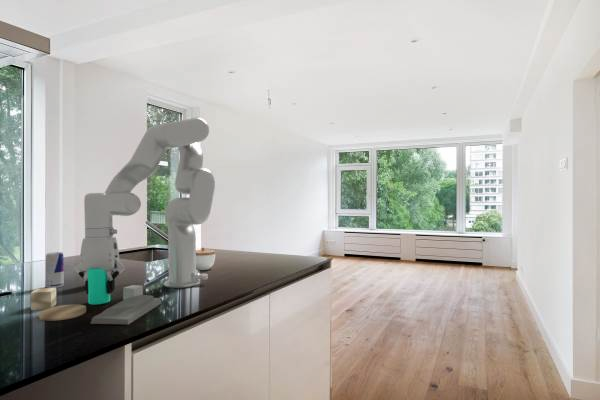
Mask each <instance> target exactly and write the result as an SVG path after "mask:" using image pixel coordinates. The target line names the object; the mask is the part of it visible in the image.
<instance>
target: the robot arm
mask: <svg viewBox="0 0 600 400" xmlns="http://www.w3.org/2000/svg"><path fill="white" fill-rule="evenodd" d="M209 133H210V126H209V124H208V123H207V121H206V120H205V119H203V118H201V117H191V118H186V119H181V120H178V121H171V122H165V123H159V124H155V125H152V126H150V127H148V129H147V130H146V131H145V133H144V134H143V136H142V138H141V140H140V142H139V143H138V145H137V147H136V149H135V151H134V153H133V154H132V156H131V157H130V159H129V161H128V162H127V163H126V164H125V165H124V166H123V167H122V169H120V171H118V172H117V174H115V176H114V177H113V179H111V181H110V182H109V184H108V186H107V188H106V189H105V191H104V192H89V193H86V194H85V196H84V200H83V201H84V202H83V203H84V205H83V206H84V238H82V241H81V242H82V243H81V245H80V254H79V255H80V257H79V258H80V259H79V262H78V263H77V264H76V265H75V266H74V267H73V271H74V272H75V273H76V274H78V275H79V277H80V278H81V279H82V280H83V282H84V281H85V285H84V291H85V294H86V295H88V269H103V271H106V274H107V276H108V281H107V294H110V295H111V294H112V293H113V292H115V291H114V290H115V288H116V286H115V285H116V282H115V279H117V277H118V276H119V275H120V274H121V273H122V272H123V271H124V270H125V269H126V266H125V265H124V263H122V261H121V260H120V252H119V251H120V250H119V246H118V240H117V237H116V236H114V235H116V234H118V229H115V228H114V225H113V223H114V222H113V216H121V217H124V216H125V217H128V216H132V215H135V214H136V213H138V212H139V211H140V209H141V206H142V205H141V204H142V202H141V199H140V198H139V196H138V195H137V194H135V193H133V192H132V190H134V188H135V187H136V186H137V185H139V184H140V183H141V182H142V181H145V180H147V179H148V178H149V177H151V176H152V175H153V174H154V173H155V172H156V170H158V167H159V165H160V163H161V161H162V159H163V158H164V156H165V153H166V152H167V150H169V149H175V148H177V149H178V151H179V160H178V165H177V171H176V175H175V182H174V186H175V190H176V191H177V192H178V193H179V194H183V195H186V196H187V195H188V196H189V197H176V198H173V199H171V200H170V201H169V202H168V203H167V205H166V207H165V213H164V214H165V217H166V218H165V220H166V223H167V232H168V233H167V235H168V237H167V238H168V240H167V241H168V279H167V280H165V281H164V282H163V283H164V285H163V286H164V287H166V288H173V289H174V288H175V289H177V288H180V289H181V288H189V287H195V286H198V285H200V284H201V280H208V278H209V277H208V276H209V275H208V273H199V270H197V269H196V249H197V247H196V246H197V244H196V243H197V242H196V239H197V236H196V230H195V227H194V226H195V225H203V224H205V222H206V221H207V220H208V219H209V216H210V214H211V211H212V204H213V200H214V195H215V194H214V193H215V188H216V187H215V186H216V181H215V177H214V175H213V173H212V172H211V171H210V170H209V169H208V168H203V164H204V163H203V162H204V153H203V151H202V148H201V146H200V145H199V143H200V142H203V141H204V140H206V139H207V137H208V136H209ZM115 269H116V270H115Z"/></svg>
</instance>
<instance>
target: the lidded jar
mask: <svg viewBox="0 0 600 400" xmlns="http://www.w3.org/2000/svg"><path fill="white" fill-rule="evenodd" d="M215 261H216V250H213V249H205V247H202V248H201V249H197V250H196V270H198V271H206V270H210V269H211V267H213V265H214V264H215Z"/></svg>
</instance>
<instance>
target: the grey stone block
mask: <svg viewBox="0 0 600 400" xmlns="http://www.w3.org/2000/svg"><path fill="white" fill-rule="evenodd" d="M143 287H144V286H143V285H136V284H131V285H129V286H124V287H122V289H123V290H122V292H123V293H122V298H123V300H125V299H127V298H130V297H135V296H139V295H144V288H143ZM123 300H122V301H123Z"/></svg>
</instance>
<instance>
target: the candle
mask: <svg viewBox="0 0 600 400" xmlns="http://www.w3.org/2000/svg"><path fill="white" fill-rule="evenodd" d="M107 281H108V276H107V274H106V271H103V269H88V294H87V302H88V304H89V305H103V304H107V303H110V301H111V293H110V294H107Z"/></svg>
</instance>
